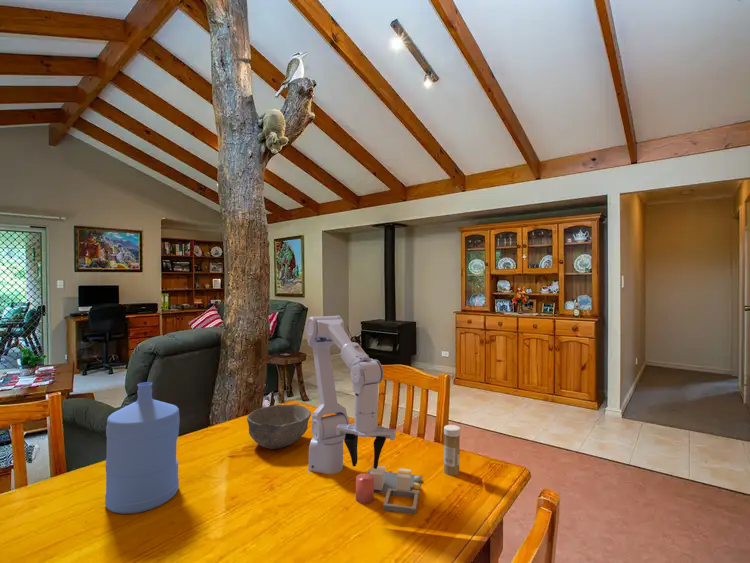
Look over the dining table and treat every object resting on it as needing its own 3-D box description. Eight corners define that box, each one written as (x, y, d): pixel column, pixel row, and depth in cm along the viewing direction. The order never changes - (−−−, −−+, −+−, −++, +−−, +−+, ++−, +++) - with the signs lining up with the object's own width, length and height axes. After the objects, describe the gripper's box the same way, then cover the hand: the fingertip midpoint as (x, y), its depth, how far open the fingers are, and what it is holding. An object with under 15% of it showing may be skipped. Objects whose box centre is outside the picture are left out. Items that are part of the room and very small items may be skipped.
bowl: (282, 427, 144) (282, 400, 144) (323, 441, 132) (323, 411, 132) (232, 445, 127) (233, 415, 127) (274, 464, 115) (275, 430, 115)
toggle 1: (369, 489, 100) (369, 473, 100) (372, 480, 104) (373, 465, 104) (381, 490, 99) (382, 474, 99) (384, 481, 104) (384, 466, 104)
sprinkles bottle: (463, 476, 110) (463, 428, 110) (451, 480, 107) (452, 431, 107) (451, 469, 114) (452, 423, 114) (439, 473, 111) (440, 426, 111)
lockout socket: (383, 513, 92) (383, 505, 92) (388, 496, 99) (388, 488, 99) (415, 517, 90) (415, 509, 90) (418, 499, 98) (418, 491, 98)
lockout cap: (353, 506, 95) (354, 481, 95) (358, 496, 99) (358, 472, 99) (371, 508, 94) (372, 483, 94) (375, 498, 98) (375, 474, 98)
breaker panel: (359, 493, 100) (360, 486, 100) (368, 472, 111) (368, 466, 111) (418, 500, 97) (419, 493, 97) (422, 478, 108) (422, 472, 108)
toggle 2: (396, 492, 99) (397, 475, 99) (398, 483, 103) (399, 467, 103) (409, 493, 98) (409, 477, 98) (411, 484, 102) (411, 468, 102)
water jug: (147, 519, 88) (149, 394, 88) (87, 511, 91) (89, 390, 91) (191, 484, 103) (193, 378, 103) (139, 478, 106) (141, 374, 106)
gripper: (332, 413, 94) (332, 470, 94) (393, 418, 91) (392, 476, 91) (341, 404, 101) (340, 457, 101) (397, 408, 98) (396, 463, 98)
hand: (365, 465), depth 96 cm, fingers open, 5 cm apart
